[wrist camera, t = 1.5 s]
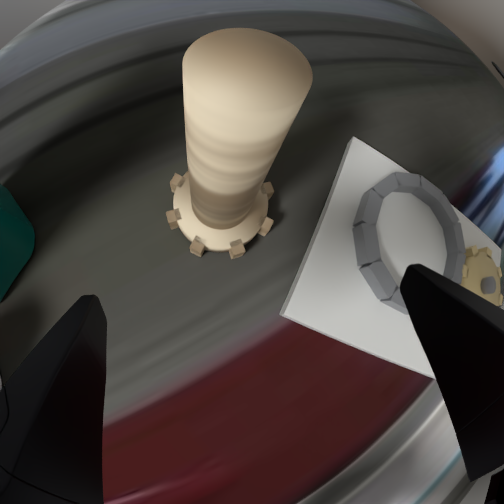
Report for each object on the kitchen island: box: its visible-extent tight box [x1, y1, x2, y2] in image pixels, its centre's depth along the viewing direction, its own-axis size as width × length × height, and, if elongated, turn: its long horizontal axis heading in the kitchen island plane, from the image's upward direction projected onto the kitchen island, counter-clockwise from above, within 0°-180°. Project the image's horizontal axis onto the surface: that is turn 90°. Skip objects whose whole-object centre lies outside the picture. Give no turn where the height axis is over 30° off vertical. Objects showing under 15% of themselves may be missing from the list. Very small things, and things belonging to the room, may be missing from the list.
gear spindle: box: [166, 28, 312, 259], centre depth 14 cm, size 8×8×14 cm
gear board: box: [279, 136, 503, 379], centre depth 21 cm, size 16×22×4 cm
